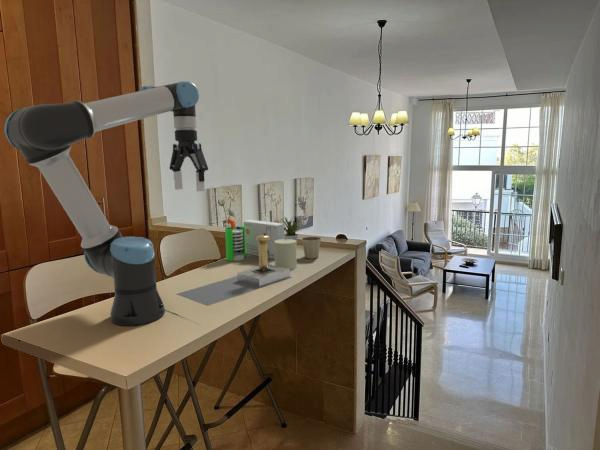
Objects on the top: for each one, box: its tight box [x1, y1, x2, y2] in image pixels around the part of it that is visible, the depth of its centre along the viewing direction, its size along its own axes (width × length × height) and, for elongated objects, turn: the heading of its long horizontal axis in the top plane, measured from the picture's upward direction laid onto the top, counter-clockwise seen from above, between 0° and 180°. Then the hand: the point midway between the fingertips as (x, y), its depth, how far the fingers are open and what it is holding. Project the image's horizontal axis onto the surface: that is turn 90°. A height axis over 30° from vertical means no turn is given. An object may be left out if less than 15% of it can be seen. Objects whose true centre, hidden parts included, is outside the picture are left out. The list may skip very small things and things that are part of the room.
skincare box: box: [243, 219, 285, 260], centre depth 202 cm, size 21×6×16 cm, turn 53°
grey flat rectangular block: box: [236, 263, 291, 287], centre depth 165 cm, size 16×12×3 cm
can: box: [274, 238, 298, 271], centre depth 180 cm, size 9×9×12 cm
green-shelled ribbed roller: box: [224, 218, 246, 262], centre depth 198 cm, size 9×8×18 cm
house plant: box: [279, 215, 303, 247], centre depth 219 cm, size 14×14×16 cm
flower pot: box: [300, 236, 322, 259], centre depth 198 cm, size 9×9×9 cm
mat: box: [176, 275, 293, 306], centre depth 158 cm, size 39×18×1 cm, turn 138°
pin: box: [256, 235, 270, 273], centre depth 164 cm, size 5×5×16 cm
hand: (189, 190), depth 157 cm, fingers open, 13 cm apart
